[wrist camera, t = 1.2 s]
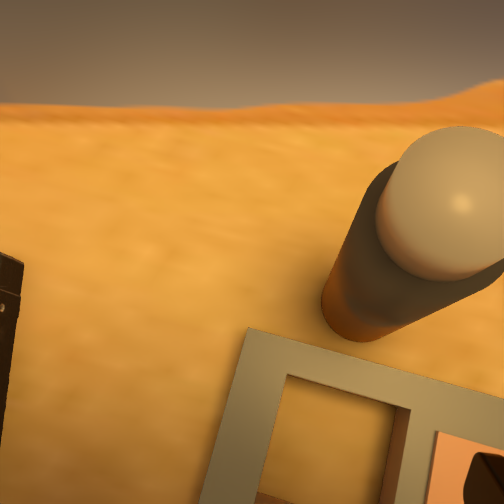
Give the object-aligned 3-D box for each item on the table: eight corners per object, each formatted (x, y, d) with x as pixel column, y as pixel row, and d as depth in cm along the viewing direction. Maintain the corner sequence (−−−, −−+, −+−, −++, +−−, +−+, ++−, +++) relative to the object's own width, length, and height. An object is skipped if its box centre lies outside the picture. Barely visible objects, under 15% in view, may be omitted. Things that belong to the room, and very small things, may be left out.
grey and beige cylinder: (391, 351, 22) (554, 302, 9) (313, 329, 23) (356, 253, 10) (406, 276, 23) (572, 131, 10) (330, 257, 24) (393, 95, 11)
